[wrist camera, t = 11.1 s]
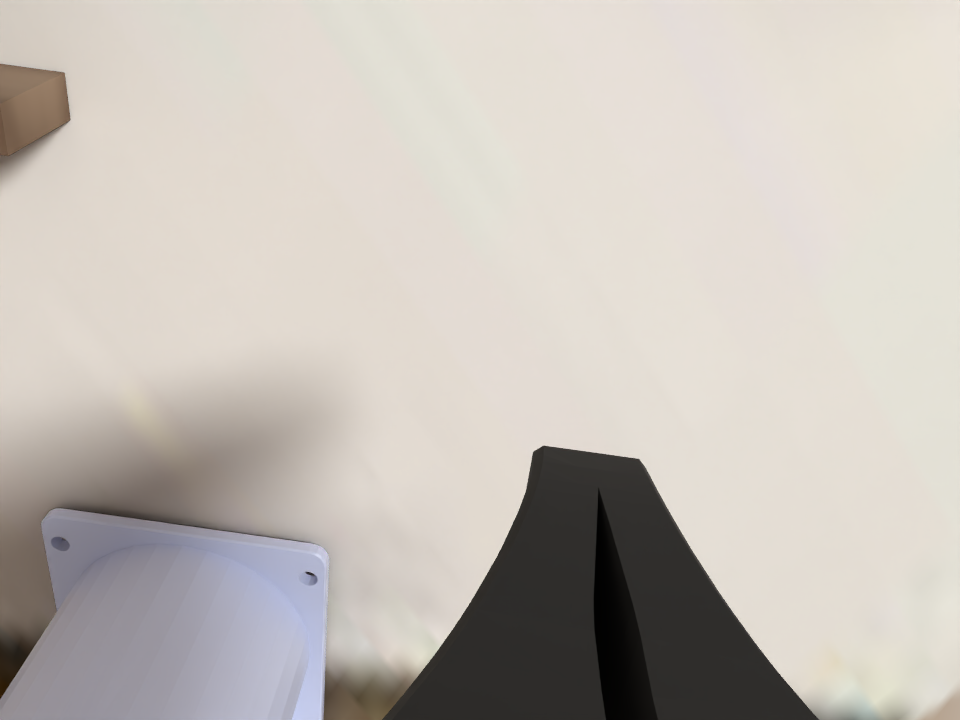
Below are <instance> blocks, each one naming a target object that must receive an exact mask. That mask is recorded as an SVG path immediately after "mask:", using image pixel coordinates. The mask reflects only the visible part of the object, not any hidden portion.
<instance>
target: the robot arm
mask: <svg viewBox="0 0 960 720" xmlns="http://www.w3.org/2000/svg"><path fill="white" fill-rule="evenodd" d="M41 529H42V535H43V540H44V545H45V551H46V556H47V562H48V567H49V572H50V578H51V583H52V588H53V594H54V599H55V604H56V610H57V612H56V614H55V616H54V617H53V619H52V620H51V622H50V623H49V625H48V626H47V628H46V629H45V631H44V633H43V634H42V636H41V637H40V639H39V640H38V642H37V643H36V645H35V646H34V648H33V650H32V651H31V653H30V654H29V656H28V657H27V659H26V660H25V662H24V663H23V665H22V667H21V668H20V670H19V671H18V673H17V674H16V676H15V677H14V679H13V680H12V682H11V684H10V685H9V687H8V688H7V690H6V691H5V693H4V694H3V696H2V698H1V699H0V720H323V716H324V689H325V662H326V635H327V608H328V581H329V556H328V553H327V552H326V551H325V549H323V548H322V547H320V546H319V545H315V544H312V543H305V542H298V541H291V540H284V539H276V538H269V537H262V536H255V535H248V534H241V533H234V532H227V531H219V530H212V529H205V528H198V527H191V526H184V525H177V524H169V523H162V522H155V521H148V520H141V519H134V518H127V517H120V516H112V515H105V514H98V513H91V512H84V511H77V510H70V509H63V508H55V509H53V510H50V511H49V512H48V514H47V515H46V516H45V518H44V519H43V520H42V522H41ZM61 537H62V538H64V539H65V540H63V539H62V538H61ZM66 540H67V541H66ZM305 572H311V573H313V574H315V575H309V574H306V573H305ZM382 720H819V719H818V718H817V717H816V716H815V715H814V714H813V713H812V712H811V710H810V709H809V708H808V707H807V706H806V705H805V703H804V702H803V701H802V700H801V699H800V698H799V696H798V695H797V694H796V693H795V692H794V691H793V689H792V688H791V687H790V686H789V685H788V684H787V682H786V681H785V680H784V679H783V678H782V677H781V675H780V674H779V673H778V672H777V670H776V669H775V668H774V667H773V665H772V664H771V663H770V662H769V660H768V659H767V658H766V656H765V655H764V654H763V653H762V651H761V650H760V649H759V647H758V646H757V645H756V644H755V642H754V641H753V639H752V638H751V637H750V635H749V634H748V633H747V631H746V630H745V628H744V627H743V626H742V624H741V623H740V622H739V620H738V619H737V617H736V616H735V615H734V613H733V612H732V610H731V609H730V608H729V606H728V605H727V603H726V602H725V600H724V599H723V597H722V596H721V594H720V593H719V592H718V590H717V589H716V587H715V585H714V584H713V582H712V581H711V579H710V578H709V576H708V575H707V573H706V571H705V570H704V568H703V567H702V565H701V564H700V562H699V561H698V559H697V557H696V556H695V554H694V553H693V551H692V550H691V548H690V546H689V545H688V543H687V541H686V540H685V538H684V536H683V535H682V533H681V531H680V530H679V528H678V526H677V524H676V523H675V521H674V519H673V517H672V516H671V514H670V512H669V510H668V509H667V507H666V505H665V503H664V501H663V500H662V498H661V496H660V494H659V492H658V491H657V489H656V487H655V485H654V483H653V481H652V479H651V477H650V475H649V474H648V472H647V470H646V468H645V466H644V465H643V464H642V462H641V461H640V460H639V459H635V458H628V457H621V456H614V455H607V454H599V453H592V452H585V451H578V450H571V449H563V448H556V447H549V446H542V447H541V448H539V449H537V450H535V451H534V452H533V456H532V462H531V467H530V472H529V478H528V483H527V489H526V493H525V495H524V498H523V501H522V504H521V506H520V509H519V511H518V514H517V516H516V518H515V520H514V522H513V525H512V527H511V529H510V531H509V533H508V535H507V537H506V540H505V542H504V544H503V546H502V548H501V550H500V552H499V554H498V556H497V558H496V560H495V561H494V563H493V565H492V566H491V568H490V570H489V572H488V573H487V575H486V577H485V579H484V580H483V582H482V584H481V586H480V587H479V589H478V591H477V593H476V594H475V596H474V598H473V599H472V601H471V603H470V604H469V606H468V607H467V609H466V610H465V612H464V613H463V615H462V616H461V618H460V620H459V621H458V622H457V624H456V625H455V627H454V628H453V630H452V631H451V633H450V634H449V636H448V637H447V638H446V640H445V641H444V643H443V644H442V645H441V647H440V648H439V650H438V651H437V652H436V654H435V655H434V656H433V658H432V659H431V660H430V662H429V663H428V664H427V665H426V667H425V668H424V669H423V671H422V672H421V673H420V674H419V676H418V677H417V678H416V679H415V681H414V682H413V683H412V685H411V686H410V687H409V688H408V690H407V691H406V692H405V693H404V695H403V696H402V697H401V698H400V699H399V701H398V702H397V703H396V704H395V705H394V707H393V708H392V709H391V710H390V711H389V712H388V714H387V715H386V716H385V717H384V718H383V719H382Z"/></svg>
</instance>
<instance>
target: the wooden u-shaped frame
mask: <svg viewBox="0 0 960 720" xmlns="http://www.w3.org/2000/svg"><path fill="white" fill-rule="evenodd" d="M68 121H70V113H69V105H68V97H67V89H66V81H65V73H63V72H56V71H48V70H41V69H34V68H26V67H19V66H12V65H5V64H0V155H4V156H9V155H11V154H13V153H15V152H16V151H18V150H20V149H21V148H23V147H25V146H27V145H28V144H30V143H32V142H33V141H35V140H37V139H39V138H40V137H42V136H44V135H46V134H47V133H49V132H51V131H52V130H54V129H56V128H58V127H59V126H61V125H63V124H64V123H66V122H68Z"/></svg>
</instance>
